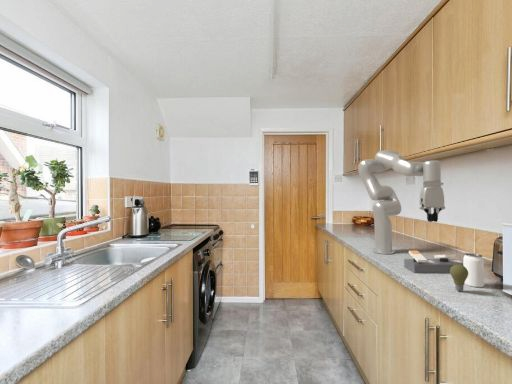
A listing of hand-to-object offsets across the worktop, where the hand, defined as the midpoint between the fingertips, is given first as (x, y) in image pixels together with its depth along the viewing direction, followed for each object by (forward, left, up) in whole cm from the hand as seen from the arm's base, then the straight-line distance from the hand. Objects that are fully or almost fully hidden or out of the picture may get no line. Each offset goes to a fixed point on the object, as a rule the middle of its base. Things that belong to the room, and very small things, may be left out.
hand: (432, 221), depth 140 cm
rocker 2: (+9, 0, -16) cm, 18 cm away
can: (+30, -1, -22) cm, 37 cm away
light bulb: (+37, -11, -22) cm, 45 cm away
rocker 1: (+9, -12, -16) cm, 22 cm away
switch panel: (+9, -4, -22) cm, 24 cm away
